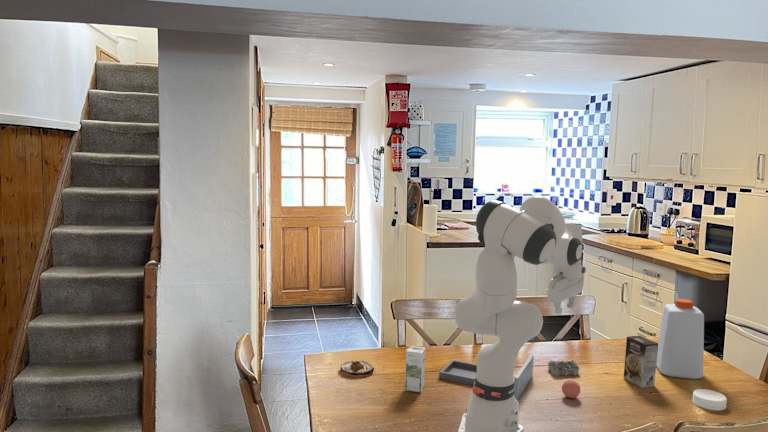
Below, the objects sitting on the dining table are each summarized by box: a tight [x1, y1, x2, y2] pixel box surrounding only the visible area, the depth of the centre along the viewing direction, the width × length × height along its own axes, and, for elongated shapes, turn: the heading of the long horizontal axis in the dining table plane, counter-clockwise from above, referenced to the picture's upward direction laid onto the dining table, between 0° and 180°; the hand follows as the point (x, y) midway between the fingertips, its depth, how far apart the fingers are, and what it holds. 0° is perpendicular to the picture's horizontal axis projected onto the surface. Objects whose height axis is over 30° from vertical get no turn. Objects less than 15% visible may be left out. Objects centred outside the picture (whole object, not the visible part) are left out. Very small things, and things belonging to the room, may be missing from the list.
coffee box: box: [623, 335, 658, 389], centre depth 208 cm, size 9×6×16 cm
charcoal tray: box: [438, 359, 477, 387], centre depth 212 cm, size 14×14×2 cm
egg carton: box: [547, 359, 580, 377], centre depth 217 cm, size 11×8×4 cm
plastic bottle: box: [656, 298, 705, 380], centre depth 219 cm, size 15×15×28 cm
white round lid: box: [692, 388, 728, 412], centre depth 192 cm, size 10×10×4 cm
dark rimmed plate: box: [340, 360, 375, 378], centre depth 213 cm, size 15×15×4 cm
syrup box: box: [404, 345, 426, 394], centre depth 198 cm, size 6×6×14 cm
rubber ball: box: [561, 379, 581, 399], centre depth 195 cm, size 6×6×6 cm
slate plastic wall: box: [514, 354, 534, 401], centre depth 202 cm, size 24×1×8 cm, turn 153°
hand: (564, 310), depth 193 cm, fingers open, 8 cm apart
